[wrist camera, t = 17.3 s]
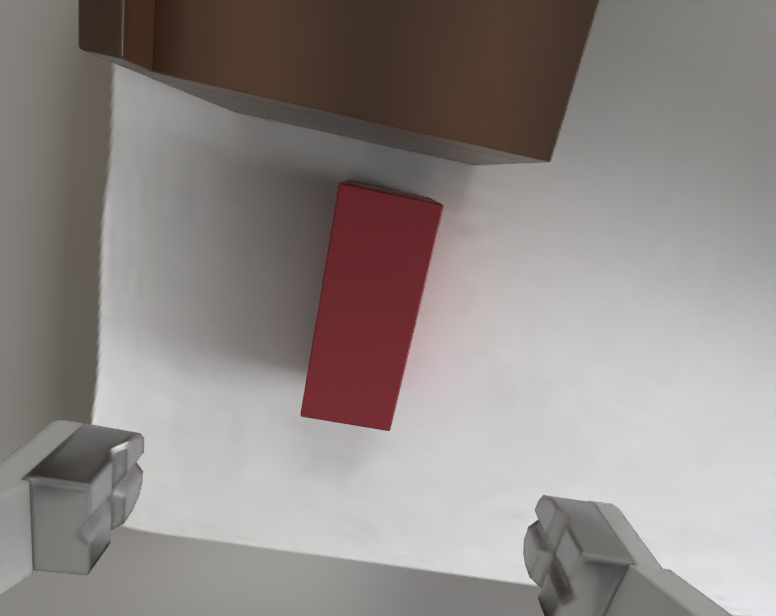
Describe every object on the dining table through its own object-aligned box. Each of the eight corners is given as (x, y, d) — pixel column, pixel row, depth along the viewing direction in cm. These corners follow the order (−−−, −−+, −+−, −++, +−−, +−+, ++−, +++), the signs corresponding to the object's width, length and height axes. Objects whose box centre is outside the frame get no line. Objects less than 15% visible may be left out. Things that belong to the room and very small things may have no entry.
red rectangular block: (431, 198, 22) (444, 205, 18) (387, 387, 26) (390, 431, 21) (346, 180, 22) (339, 182, 18) (313, 374, 25) (299, 416, 21)
